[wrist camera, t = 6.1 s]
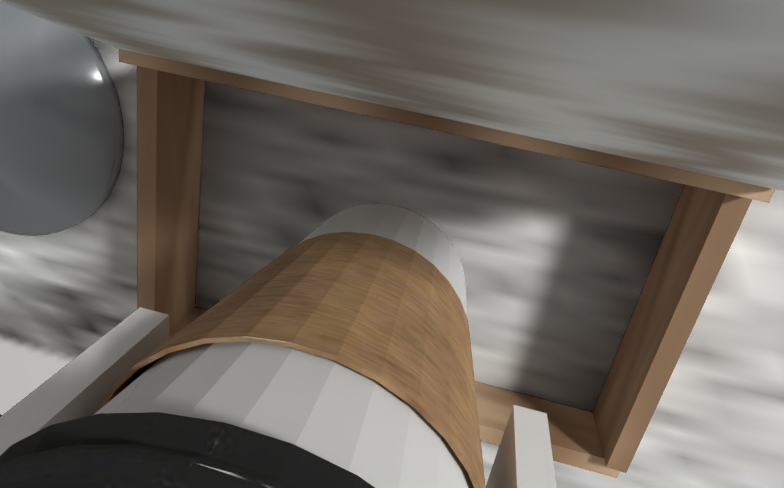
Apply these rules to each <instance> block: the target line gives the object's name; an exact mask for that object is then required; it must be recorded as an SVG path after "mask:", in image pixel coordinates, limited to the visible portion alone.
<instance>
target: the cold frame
mask: <svg viewBox="0 0 784 488" xmlns="http://www.w3.org/2000/svg"><path fill="white" fill-rule="evenodd" d="M0 2H3V3H5V4H8V5H10V6H13V7H15V8H18V9H20V10H23V11H25V12H28V13H30V14H33V15H35V16H38V17H40V18H43V19H45V20H48V21H50V22H53V23H55V24H58V25H60V26H62V27H65V28H67V29H70V30H72V31H75V32H77V33H80V34H82V35H85V36H87V37H90V38H92V39H95V40H97V41H100V42H102V43H105V44H107V45H110V46H112V47H115V48H118V49H119V62H122V63H127V64H132V65H136V66H137V306H138V308H140V307H141V308H145V309H149V310H153V311H156V312H160V313H164V314H168V315H169V339H170V338H171V337H173V336H174V335H175V334H177V333H178V332H179V331H181V330H182V329H183V328H185V327H186V326H187V325H189V324H190V323H191V322H193V321H194V320H195V319H197V318H198V317H199V316H201V315H202V314H203V313H205V312H206V311H207V310H203V309H199V308H195V291H196V269H197V247H198V225H199V202H200V180H201V158H202V135H203V113H204V91H205V81H210V82H215V83H219V84H224V85H228V86H233V87H238V88H242V89H247V90H251V91H256V92H261V93H265V94H270V95H275V96H279V97H284V98H288V99H293V100H298V101H302V102H307V103H311V104H316V105H321V106H325V107H330V108H334V109H339V110H344V111H348V112H353V113H357V114H362V115H367V116H371V117H376V118H380V119H385V120H390V121H394V122H399V123H404V124H408V125H413V126H417V127H422V128H427V129H431V130H436V131H440V132H445V133H450V134H454V135H459V136H463V137H468V138H473V139H477V140H482V141H486V142H491V143H496V144H500V145H505V146H509V147H514V148H519V149H523V150H528V151H533V152H537V153H542V154H546V155H551V156H556V157H560V158H565V159H569V160H574V161H579V162H583V163H588V164H592V165H597V166H602V167H606V168H611V169H615V170H620V171H625V172H629V173H634V174H638V175H643V176H648V177H652V178H657V179H661V180H666V181H671V182H675V183H680V184H685V186H684V189H683V191H682V194H681V196H680V199H679V201H678V204H677V206H676V208H675V211H674V213H673V216H672V218H671V221H670V223H669V226H668V228H667V231H666V233H665V235H664V238H663V240H662V243H661V245H660V248H659V250H658V253H657V255H656V258H655V260H654V263H653V265H652V267H651V270H650V272H649V275H648V277H647V280H646V282H645V285H644V287H643V290H642V292H641V295H640V297H639V299H638V302H637V304H636V307H635V309H634V312H633V314H632V317H631V319H630V322H629V324H628V327H627V329H626V331H625V334H624V336H623V339H622V341H621V344H620V346H619V349H618V351H617V354H616V356H615V359H614V361H613V363H612V366H611V368H610V371H609V373H608V376H607V378H606V381H605V383H604V386H603V388H602V391H601V393H600V395H599V398H598V400H597V403H596V405H595V408H594V410H593V412H589V411H585V410H581V409H577V408H574V407H570V406H566V405H562V404H559V403H555V402H551V401H547V400H543V399H540V398H536V397H532V396H528V395H525V394H521V393H517V392H513V391H509V390H506V389H502V388H498V387H494V386H490V385H487V384H483V383H479V382H475V381H474V382H475V391H476V401H477V411H478V420H479V430H480V440H481V441H484V442H488V443H491V444H495V445H499V446H500V443H501V440H502V437H503V434H504V431H505V428H506V425H507V422H508V419H509V417H510V414H511V411H512V408H513V405H516V406H520V407H524V408H528V409H531V410H535V411H539V412H543V413H547V418H548V426H549V433H550V441H551V449H552V456H553V461H557V462H560V463H564V464H568V465H571V466H575V467H579V468H582V469H586V470H589V471H593V472H597V473H600V474H604V475H608V476H611V477H615V478H617V477H618V475H619V473H620V471H622V472H625V473H626V472H627V470H628V467H629V465H630V463H631V461H632V459H633V457H634V454H635V452H636V450H637V448H638V446H639V444H640V441H641V439H642V437H643V435H644V433H645V431H646V428H647V426H648V424H649V422H650V420H651V418H652V415H653V413H654V411H655V409H656V407H657V405H658V402H659V400H660V398H661V396H662V394H663V392H664V389H665V387H666V385H667V383H668V381H669V379H670V376H671V374H672V372H673V370H674V368H675V366H676V363H677V361H678V359H679V357H680V355H681V353H682V350H683V348H684V346H685V344H686V342H687V340H688V337H689V335H690V333H691V331H692V329H693V327H694V324H695V322H696V320H697V318H698V316H699V314H700V311H701V309H702V307H703V305H704V303H705V301H706V298H707V296H708V294H709V292H710V290H711V288H712V285H713V283H714V281H715V279H716V277H717V275H718V272H719V270H720V268H721V266H722V264H723V262H724V259H725V257H726V255H727V253H728V251H729V249H730V246H731V244H732V242H733V240H734V238H735V236H736V233H737V231H738V229H739V227H740V225H741V223H742V220H743V218H744V216H745V214H746V212H747V210H748V207H749V205H750V203H751V201H752V199H754V200H758V201H763V202H767V203H769V202H770V200H771V197H772V195H773V193H774V191H775V189H776V190H784V0H0Z"/></svg>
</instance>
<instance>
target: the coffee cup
mask: <svg viewBox="0 0 784 488" xmlns="http://www.w3.org/2000/svg"><path fill="white" fill-rule="evenodd" d="M0 488H485V479H484V469H483V459H482V450H481V440H480V430H479V420H478V411H477V401H476V391H475V382H474V372H473V362H472V352H471V343H470V334H469V326H468V319H467V299H466V285H465V277H464V270H463V267H462V264H461V261H460V258H459V255H458V253H457V251H456V250H455V248H454V246H453V245H452V243H451V241H450V240H449V239H448V238H447V236H446V235H445V234H444V233H443V232H442V231H441V230H440V229H439V228H438V227H437V226H436V225H435V224H433V223H432V222H431V221H429V220H428V219H427V218H425V217H424V216H422V215H420V214H417V213H415V212H413V211H411V210H409V209H406V208H402V207H399V206H395V205H390V204H379V203H373V204H363V205H357V206H354V207H351V208H348V209H345V210H342V211H341V212H339V213H337V214H335V215H334V216H332V217H330V218H329V219H327V220H326V221H325V222H323V223H322V224H321V225H320V226H318V227H317V228H316V229H315V230H314V231H313V232H311V233H310V234H309V235H308V236H307V237H305V238H304V239H303V240H302V241H301V242H299V243H298V244H297V245H296V246H294V247H292V248H291V249H289V250H287V251H286V252H285V253H283V254H282V255H281V256H279V257H278V258H277V259H275V260H274V261H273V262H271V263H270V264H269V265H267V266H266V267H265V268H263V269H262V270H261V271H259V272H258V273H257V274H255V275H254V276H253V277H251V278H250V279H249V280H247V281H246V282H245V283H243V284H242V285H241V286H239V287H238V288H237V289H235V290H234V291H233V292H231V293H230V294H229V295H227V296H226V297H225V298H223V299H222V300H221V301H219V302H218V303H217V304H215V305H214V306H213V307H211V308H210V309H209V310H207V311H206V312H205V313H203V314H202V315H201V316H199V317H198V318H197V319H195V320H194V321H193V322H191V323H190V324H189V325H187V326H186V327H185V328H183V329H182V330H181V331H179V332H178V333H177V334H175V335H174V336H173V337H171V338H170V339H169V340H167V341H166V342H165V343H163V344H162V345H161V346H159V347H158V348H157V349H155V350H154V351H153V352H151V353H150V354H149V355H147V356H146V357H145V358H143V359H142V360H141V361H139V362H138V363H137V364H136V365H134V366H133V367H132V368H131V369H130V370H129V371H128V372H127V373H126V374H125V375H123V376H122V377H121V378H120V379H119V380H118V381H117V382H116V383H115V384H114V385H113V386H112V387H111V388H110V390H109V392H108V393H107V395H106V397H105V398H104V400H103V401H102V403H101V405H100V406H99V408H98V410H97V411H96V413H95V414H94V415H91V416H87V417H82V418H78V419H74V420H70V421H65V422H61V423H57V424H52V425H49V426H47V427H45V428H43V429H42V430H40V431H38V432H36V433H34V434H32V435H30V436H28V437H26V438H24V439H22V440H20V441H18V442H16V443H14V444H13V445H11V446H10V447H9V448H8V449H7V450H6V451H5V452H4V453H3V454H1V455H0Z"/></svg>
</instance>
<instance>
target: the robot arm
mask: <svg viewBox="0 0 784 488" xmlns="http://www.w3.org/2000/svg"><path fill="white" fill-rule="evenodd" d="M167 340H169V315H168V314H164V313H160V312H156V311H153V310H149V309H145V308H141V307H140V308H138V309H137V310H136V311H135V312H133V313H132V314H131V315H130V316H128V317H127V318H126V319H124V320H123V321H122V322H121V323H119V324H118V325H117V326H116V327H114V328H113V329H112V330H110V331H109V332H108V333H107V334H105V335H104V336H103V337H102V338H100V339H99V340H98V341H96V342H95V343H94V344H93V345H91V346H90V347H89V348H88V349H86V350H85V351H84V352H82V353H81V354H80V355H79V356H77V357H76V358H75V359H74V360H72V361H71V362H70V363H68V364H67V365H66V366H65V367H63V368H62V369H61V370H60V371H58V372H57V373H56V374H54V375H53V376H52V377H51V378H49V379H48V380H47V381H45V382H44V383H43V384H42V385H40V386H39V387H38V388H37V389H35V390H34V391H33V392H32V393H30V394H29V395H28V396H26V397H25V398H24V399H23V400H21V401H20V402H19V403H18V404H16V405H15V406H14V407H12V408H11V409H10V410H9V411H7V412H6V413H5V414H4V415H0V455H1V454H3V453H4V452H5V451H6V450H7V449H8V448H9V447H10V446H11V445H13V444H14V443H16V442H18V441H20V440H22V439H24V438H26V437H28V436H30V435H32V434H34V433H36V432H38V431H40V430H42V429H43V428H45V427H47V426H49V425H52V424H57V423H61V422H65V421H70V420H74V419H78V418H82V417H87V416H91V415H94V414H95V413H96V411H97V410H98V408H99V406H100V405H101V403H102V401H103V400H104V398H105V397H106V395H107V393H108V392H109V390H110V388H111V387H112V386H113V385H114V384H115V383H116V382H117V381H118V380H119V379H120V378H121V377H122V376H123V375H125V374H126V373H127V372H128V371H129V370H130V369H131V368H132V367H133V366H134V365H136V364H137V363H138V362H139V361H141V360H142V359H143V358H145V357H146V356H147V355H149V354H150V353H151V352H153V351H154V350H155V349H157V348H158V347H159V346H161V345H162V344H163V343H165V342H166V341H167ZM486 488H557V487H556V479H555V472H554V464H553V456H552V449H551V441H550V433H549V426H548V418H547V413H543V412H539V411H535V410H531V409H528V408H524V407H520V406H516V405H513V408H512V411H511V414H510V417H509V419H508V422H507V425H506V428H505V431H504V434H503V437H502V440H501V443H500V446H499V449H498V452H497V455H496V458H495V461H494V464H493V467H492V470H491V473H490V476H489V479H488V482H487V485H486Z"/></svg>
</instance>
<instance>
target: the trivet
mask: <svg viewBox="0 0 784 488" xmlns="http://www.w3.org/2000/svg"><path fill="white" fill-rule="evenodd" d="M123 139H124V138H123V123H122V116H121V111H120V105H119V101H118V98H117V94H116V91H115V88H114V85H113V82H112V80H111V77H110V75H109V72H108V70H107V68H106V66H105V64H104V62H103V60H102V58H101V56H100V54H99V53H98V51H97V49H96V48H95V46H94V45H93V43H92V42H91V40H90V39H89V37H87V36H85V35H82V34H80V33H77V32H75V31H72V30H70V29H67V28H65V27H62V26H60V25H58V24H55V23H53V22H50V21H48V20H45V19H43V18H40V17H38V16H35V15H33V14H30V13H28V12H25V11H23V10H20V9H18V8H15V7H13V6H10V5H8V4H5V3H3V2H0V230H3V231H6V232H11V233H16V234H22V235H44V234H51V233H55V232H59V231H62V230H64V229H66V228H69V227H71V226H73V225H76V224H78V223H80V222H82V221H83V220H85V219H86V218H88V217H90V216H91V215H92V214H93V213H94V212H95V211H96V210H98V209H99V208H100V207H101V205H102V204H103V203H104V201H105V200H106V199H107V197H108V196H109V194H110V192H111V190H112V189H113V187H114V185H115V182H116V179H117V176H118V174H119V171H120V166H121V161H122V156H123Z"/></svg>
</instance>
